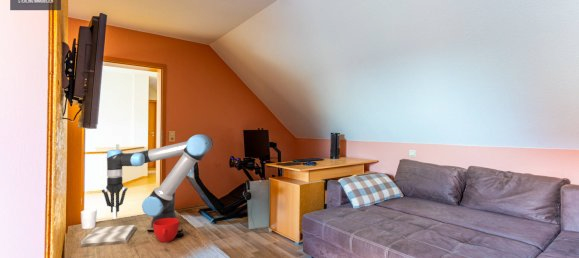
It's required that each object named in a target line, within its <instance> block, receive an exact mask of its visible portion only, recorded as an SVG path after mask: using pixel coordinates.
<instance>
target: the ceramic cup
mask: <svg viewBox="0 0 579 258" xmlns="http://www.w3.org/2000/svg"><path fill="white" fill-rule="evenodd" d="M179 228H180V220H179V219H178V218H177V219H176V218H164V219H159V220H157V221H155V222H154V223H153V228H152V229H153V233H154V236H155V238H156V239H157V240H158V241H159V242H160V243H169V242H172V241H174V238H175V237H176V236H177V234H178V233H179Z"/></svg>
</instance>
